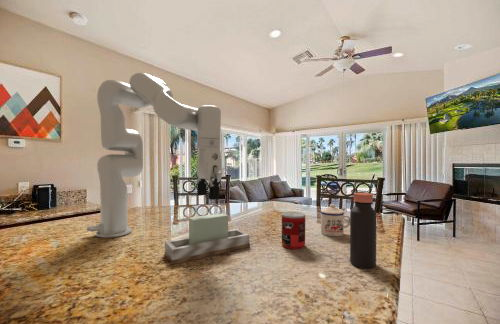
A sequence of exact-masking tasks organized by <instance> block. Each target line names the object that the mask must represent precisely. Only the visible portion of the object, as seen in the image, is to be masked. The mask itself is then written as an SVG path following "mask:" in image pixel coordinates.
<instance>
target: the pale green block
mask: <svg viewBox="0 0 500 324" xmlns="http://www.w3.org/2000/svg"><path fill="white" fill-rule="evenodd" d="M228 230H229V215H228V214H225V213H223V212H221V213H216V214H207V215H200V216H192V217H188V237H189V245H192V244H197V243H202V242H208V241H213V240H218V239H223V238H228Z"/></svg>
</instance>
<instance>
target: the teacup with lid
mask: <svg viewBox="0 0 500 324" xmlns="http://www.w3.org/2000/svg"><path fill="white" fill-rule="evenodd" d="M344 218H348V223H347V224H346V225H345V223H344V222H345V220H344ZM346 228H350V215H347V214H345V211H344V210H343V209H340V208H338V207H337V206H336V205H335V204H334V203H330V204H329V206H327V207H325V208H322V209H321V210H320V233H321V234H322V235H323V236H328V237H342V236H344V235H345V234H344V232H345V231H344V229H346Z"/></svg>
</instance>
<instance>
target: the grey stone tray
mask: <svg viewBox="0 0 500 324" xmlns="http://www.w3.org/2000/svg"><path fill="white" fill-rule="evenodd" d="M250 247H251V244H250V234H249V233H247V232H245V231H242V230H240V229H238V228H234V229H230V230H229V229H228V238H223V239H218V240H213V241H208V242H202V243H197V244H192V245H189V236H188V237H184V238H177V239H173V240H166V241H164V255H165V257H167V259H168V260H169V261H170V262H171V264H172V265H176V264H180V263H185V262H189V261H193V260H198V259H202V258H206V257H211V256H214V255H220V254H224V253H228V252H232V251H236V250H241V249H246V248H250Z"/></svg>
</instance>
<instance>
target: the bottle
mask: <svg viewBox="0 0 500 324" xmlns="http://www.w3.org/2000/svg"><path fill="white" fill-rule="evenodd" d="M373 199H374V194H373V193H369V192H354V193H353V202H354V206H353V207H352V208H351V209H350V215H349V217H350V226H349V228H350V229H349V232H350V233H349V234H350V235H349V237H350V238H349V262H350V263H351V265H353V266H355V267H357V268H361V269H365V270H366V269H367V270H368V269H369V270H370V269H374V268H376V267H377V211H376V210H375V209H374V208H373V206H372V205H373V202H374V201H373Z"/></svg>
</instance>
